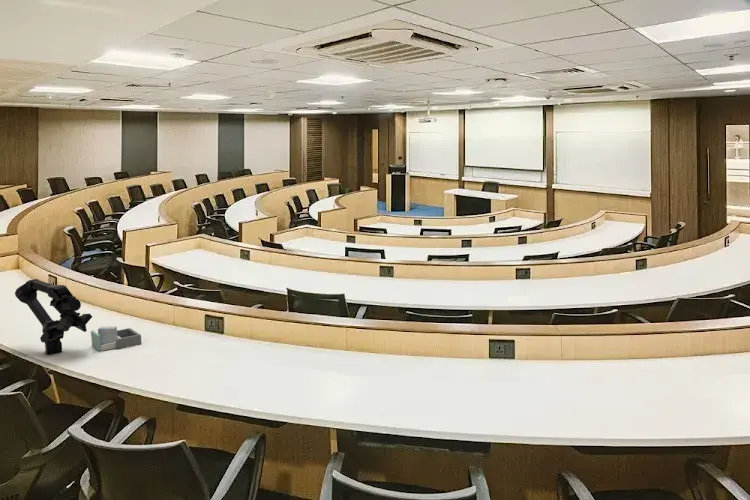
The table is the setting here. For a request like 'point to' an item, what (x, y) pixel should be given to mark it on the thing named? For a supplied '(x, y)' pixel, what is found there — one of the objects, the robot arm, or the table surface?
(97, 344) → the tray
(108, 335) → the medicine box
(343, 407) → the table surface
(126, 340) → the dock
